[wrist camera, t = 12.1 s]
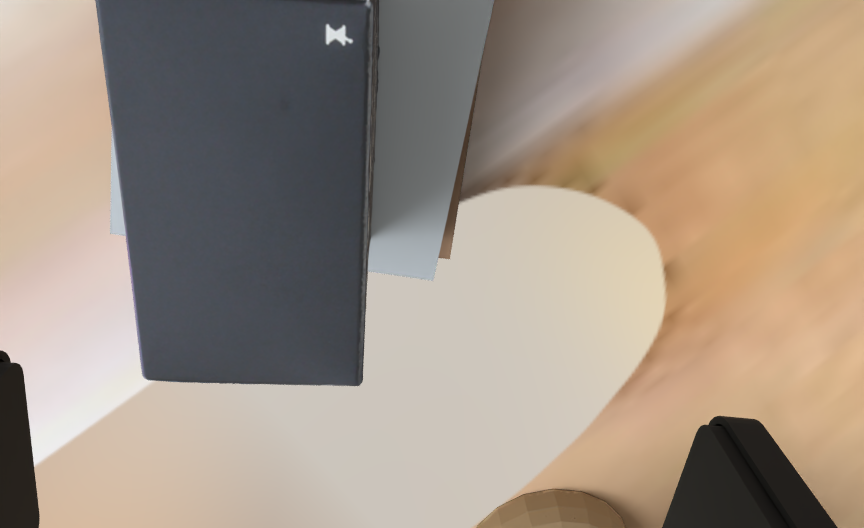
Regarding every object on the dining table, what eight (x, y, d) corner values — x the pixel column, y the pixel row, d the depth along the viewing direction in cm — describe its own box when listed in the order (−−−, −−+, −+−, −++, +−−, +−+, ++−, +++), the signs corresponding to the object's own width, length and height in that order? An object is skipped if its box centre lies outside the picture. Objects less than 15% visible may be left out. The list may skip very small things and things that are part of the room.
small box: (189, -51, 25) (72, -34, 15) (382, -39, 25) (385, -15, 16) (209, 237, 29) (129, 389, 20) (373, 242, 30) (372, 392, 20)
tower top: (487, -55, 29) (505, -51, 25) (426, 238, 35) (433, 280, 31) (154, -126, 28) (115, -135, 24) (143, 195, 33) (110, 233, 29)
